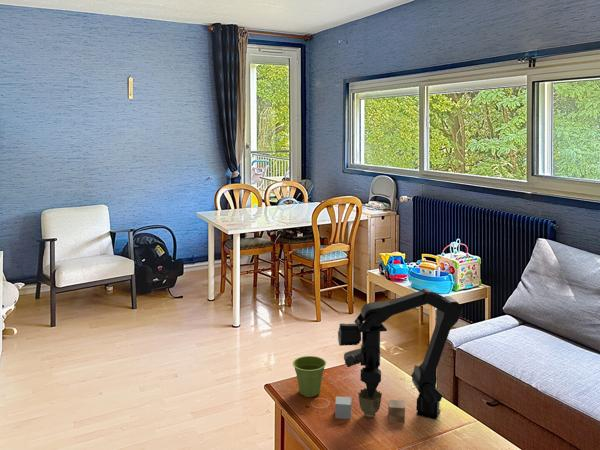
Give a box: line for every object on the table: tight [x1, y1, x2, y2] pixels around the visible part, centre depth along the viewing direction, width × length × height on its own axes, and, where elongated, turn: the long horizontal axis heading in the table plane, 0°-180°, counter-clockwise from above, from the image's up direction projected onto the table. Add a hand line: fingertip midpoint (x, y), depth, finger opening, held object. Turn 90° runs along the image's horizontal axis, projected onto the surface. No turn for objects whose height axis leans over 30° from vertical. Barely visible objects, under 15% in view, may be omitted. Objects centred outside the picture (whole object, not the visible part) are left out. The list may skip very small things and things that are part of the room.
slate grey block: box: [334, 396, 352, 420], centre depth 172 cm, size 5×5×5 cm
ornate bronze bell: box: [357, 387, 383, 419], centre depth 170 cm, size 8×7×8 cm
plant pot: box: [292, 355, 327, 398], centre depth 186 cm, size 12×12×11 cm
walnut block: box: [387, 399, 406, 423], centre depth 169 cm, size 5×5×5 cm
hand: (370, 390), depth 169 cm, fingers open, 9 cm apart
